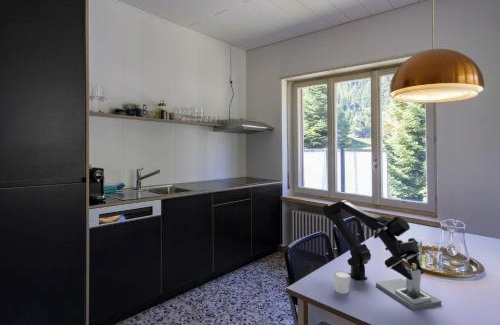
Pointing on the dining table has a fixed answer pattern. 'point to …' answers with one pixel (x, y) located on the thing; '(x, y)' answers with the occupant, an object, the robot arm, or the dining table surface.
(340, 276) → the shot glass
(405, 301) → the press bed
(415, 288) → the gold-capped silver bottle
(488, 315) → the dining table surface
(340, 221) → the robot arm
